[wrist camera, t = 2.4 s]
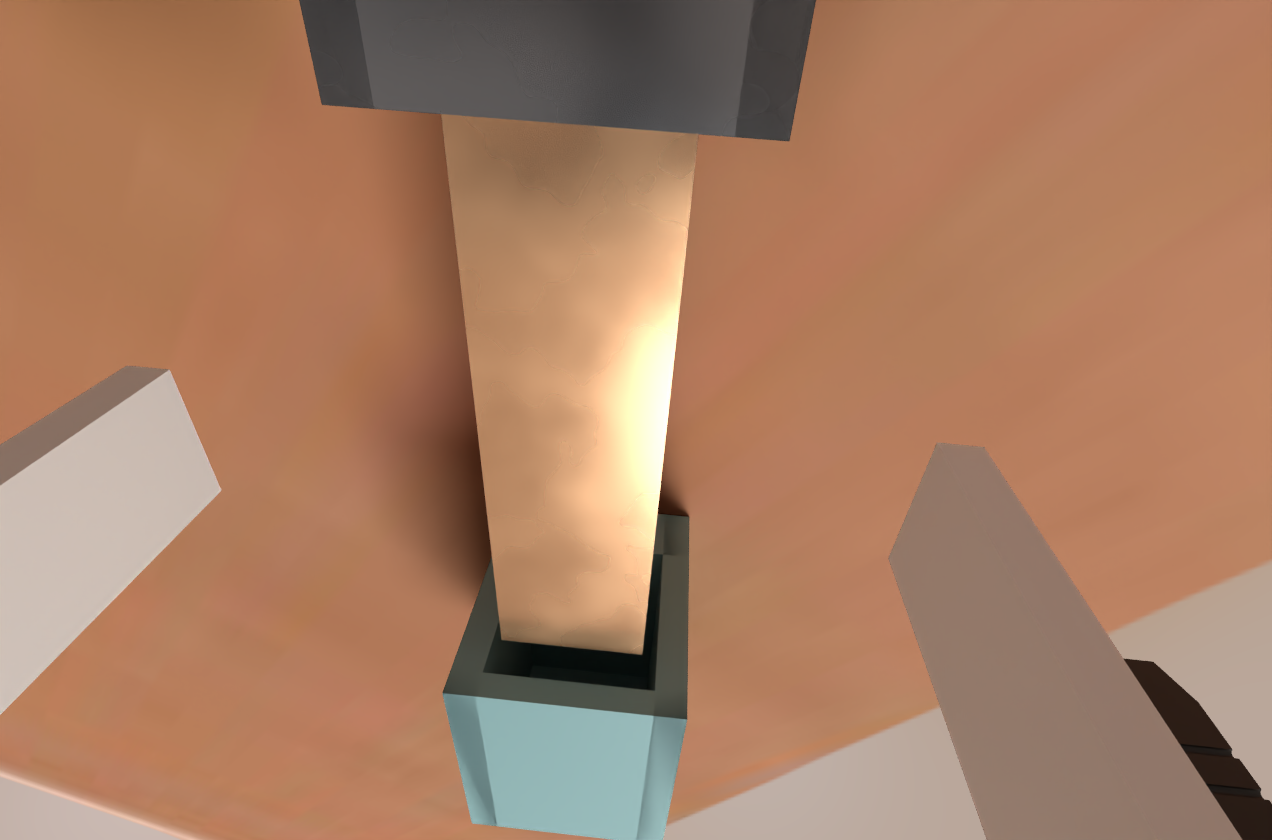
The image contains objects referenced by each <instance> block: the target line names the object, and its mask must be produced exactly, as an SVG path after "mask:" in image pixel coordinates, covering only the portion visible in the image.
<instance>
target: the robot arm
mask: <svg viewBox="0 0 1272 840" xmlns="http://www.w3.org/2000/svg"><path fill="white" fill-rule="evenodd" d="M220 491H221V488H220V486H219V484H218V481H217V479H216V477H215V474H214V472H213V470H212V467H211V465H210V463H209V460H208V458H207V456H206V454H205V451H204V449H203V447H202V444H201V442H200V440H199V437H198V435H197V433H196V430H195V428H194V426H193V423H192V421H191V419H190V416H189V414H188V412H187V409H186V407H185V405H184V402H183V400H182V398H181V395H180V393H179V391H178V388H177V386H176V384H175V381H174V379H173V377H172V374H171V372H170V370H168V369H157V368H147V367H136V366H125V367H124V368H122V369H121V370H119V371H117V372H116V373H114V374H113V375H111V376H109V377H108V378H106V379H105V380H103V381H101V382H100V383H98V384H97V385H95V386H93V387H92V388H90V389H89V390H87V391H85V392H84V393H82V394H81V395H79V396H77V397H76V398H74V399H73V400H71V401H69V402H68V403H66V404H65V405H63V406H61V407H60V408H58V409H57V410H55V411H53V412H52V413H50V414H49V415H47V416H45V417H44V418H42V419H41V420H39V421H37V422H36V423H34V424H33V425H31V426H29V427H28V428H26V429H25V430H23V431H21V432H20V433H18V434H17V435H15V436H13V437H12V438H10V439H9V440H7V441H5V442H4V443H2V444H1V445H0V714H1V713H2V712H3V711H4V710H5V709H6V708H7V707H8V706H9V705H10V704H11V703H12V702H13V701H14V700H15V699H16V698H17V697H18V696H19V695H20V694H21V693H22V692H23V691H24V690H25V689H26V688H27V687H28V686H29V685H30V684H31V683H32V682H33V681H34V680H35V679H36V678H37V677H38V676H39V675H40V674H41V673H42V672H43V671H44V670H45V669H46V668H47V667H48V666H49V665H50V664H51V663H52V662H53V661H54V660H55V659H56V658H57V657H58V656H59V655H60V654H61V653H62V652H63V651H64V650H65V649H66V648H67V647H68V646H69V645H70V644H71V643H72V641H73V640H74V639H75V638H76V637H77V636H78V635H79V634H80V633H81V632H82V631H83V630H84V629H85V628H86V627H87V626H88V625H89V624H90V623H91V622H92V621H93V620H94V619H95V618H96V617H97V616H98V615H99V614H100V613H101V612H102V611H103V610H104V609H105V608H106V607H107V606H108V605H109V604H110V603H111V602H112V601H113V600H114V599H115V598H116V597H117V596H118V595H119V594H120V593H121V592H122V591H123V590H124V589H125V588H126V587H127V586H128V585H129V584H130V583H131V582H132V581H133V580H134V579H135V578H136V577H137V576H138V575H139V574H140V573H141V572H142V571H143V570H144V569H145V567H146V566H147V565H148V564H149V563H150V562H151V561H152V560H153V559H154V558H155V557H156V556H157V555H158V554H159V553H160V552H161V551H162V550H163V549H164V548H165V547H166V546H167V545H168V544H169V543H170V542H171V541H172V540H173V539H174V538H175V537H176V536H177V535H178V534H179V533H180V532H181V531H182V530H183V529H184V528H185V527H186V526H187V525H188V524H189V523H190V522H191V521H192V520H193V519H194V518H195V517H196V516H197V515H198V514H199V513H200V512H201V511H202V510H203V509H204V508H205V507H206V506H207V505H208V504H209V503H210V502H211V501H212V500H213V499H214V498H215V497H216V496H217V495H218V493H219V492H220ZM888 559H889V562H890V565H891V568H892V570H893V573H894V576H895V579H896V582H897V585H898V588H899V590H900V593H901V596H902V599H903V602H904V605H905V608H906V610H907V613H908V616H909V619H910V622H911V625H912V628H913V630H914V633H915V636H916V639H917V642H918V645H919V648H920V650H921V653H922V656H923V659H924V662H925V665H926V668H927V670H928V673H929V676H930V679H931V682H932V685H933V688H934V690H935V693H936V696H937V699H938V702H939V705H940V708H941V710H942V713H943V716H944V719H945V722H946V725H947V727H948V730H949V733H950V736H951V739H952V742H953V745H954V747H955V750H956V753H957V756H958V759H959V762H960V764H961V767H962V770H963V773H964V776H965V779H966V781H967V785H968V787H969V790H970V793H971V796H972V799H973V802H974V805H975V807H976V810H977V813H978V816H979V819H980V822H981V825H982V827H983V830H984V833H985V836H986V839H987V840H1272V804H1271V802H1270V801H1269V800H1264V799H1263V798H1262V796H1261V793H1260V791H1261V788H1260V787H1259V786H1258V784H1257V783H1256V781H1255V780H1254V779H1253V777H1252V776H1251V775H1250V773H1249V772H1248V770H1247V769H1246V768H1245V766H1244V765H1243V764H1242V762H1241V761H1240V760H1239V759H1236V758H1234V757H1233V756H1232V754H1231V751H1232V748H1231V747H1230V746H1229V744H1228V743H1227V741H1226V740H1225V739H1224V738H1223V736H1222V734H1221V733H1220V732H1219V730H1218V729H1217V728H1216V726H1215V725H1214V723H1213V722H1212V721H1211V719H1210V718H1209V717H1208V715H1207V714H1206V712H1205V711H1204V710H1203V708H1202V707H1201V706H1200V704H1199V703H1198V702H1197V701H1196V700H1195V699H1194V698H1193V697H1192V696H1190V695H1189V694H1188V693H1187V692H1186V691H1185V690H1184V689H1183V688H1182V687H1181V686H1179V685H1178V684H1177V683H1176V682H1175V681H1174V680H1173V679H1172V678H1171V677H1169V676H1168V675H1167V674H1166V673H1165V672H1164V671H1163V670H1162V669H1161V668H1160V667H1158V666H1157V665H1156V664H1155V663H1154V662H1150V661H1139V660H1130V659H1123V658H1122V656H1121V654H1120V653H1119V651H1118V650H1117V649H1116V647H1115V645H1114V644H1113V642H1112V641H1111V640H1110V638H1109V636H1108V635H1107V633H1106V632H1105V630H1104V629H1103V627H1102V626H1101V624H1100V623H1099V621H1098V620H1097V618H1096V616H1095V615H1094V613H1093V612H1092V610H1091V609H1090V607H1089V606H1088V604H1087V603H1086V601H1085V600H1084V598H1083V597H1082V595H1081V594H1080V592H1079V591H1078V589H1077V588H1076V586H1075V585H1074V583H1073V582H1072V580H1071V578H1070V577H1069V575H1068V574H1067V572H1066V571H1065V569H1064V568H1063V566H1062V565H1061V563H1060V562H1059V560H1058V559H1057V557H1056V556H1055V554H1054V553H1053V551H1052V550H1051V548H1050V547H1049V545H1048V544H1047V542H1046V541H1045V539H1044V537H1043V536H1042V534H1041V533H1040V531H1039V530H1038V528H1037V527H1036V525H1035V524H1034V522H1033V521H1032V519H1031V518H1030V516H1029V515H1028V513H1027V512H1026V510H1025V509H1024V507H1023V506H1022V504H1021V503H1020V501H1019V499H1018V498H1017V496H1016V495H1015V493H1014V492H1013V490H1012V489H1011V487H1010V486H1009V484H1008V483H1007V481H1006V480H1005V478H1004V477H1003V475H1002V474H1001V472H1000V471H999V469H998V468H997V466H996V465H995V463H994V461H993V460H992V458H991V457H990V455H989V454H988V452H987V451H986V449H985V448H984V447H978V446H968V445H957V444H947V443H937V444H936V446H935V449H934V451H933V454H932V456H931V458H930V461H929V463H928V465H927V468H926V470H925V473H924V475H923V477H922V480H921V482H920V484H919V487H918V489H917V491H916V494H915V496H914V499H913V501H912V503H911V506H910V508H909V510H908V513H907V515H906V518H905V520H904V522H903V525H902V527H901V529H900V532H899V534H898V537H897V539H896V541H895V544H894V546H893V548H892V551H891V553H890V556H889V558H888Z"/></svg>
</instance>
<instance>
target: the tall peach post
mask: <svg viewBox="0 0 1272 840" xmlns="http://www.w3.org/2000/svg"><path fill="white" fill-rule="evenodd" d="M441 119H442V127H443V136H444V145H445V153H446V162H447V171H448V179H449V188H450V197H451V205H452V214H453V223H454V231H455V240H456V249H457V258H458V266H459V275H460V284H461V292H462V301H463V310H464V318H465V327H466V336H467V344H468V353H469V362H470V370H471V379H472V388H473V396H474V405H475V414H476V422H477V431H478V440H479V449H480V457H481V466H482V475H483V483H484V492H485V501H486V509H487V518H488V527H489V535H490V544H491V553H492V561H493V570H494V579H495V587H496V596H497V605H498V613H499V622H500V631H501V640H507V641H517V642H526V643H536V644H545V645H554V646H564V647H573V648H583V649H592V650H602V651H611V652H621V653H630V654H640V655H642V652H643V643H644V634H645V625H646V615H647V606H648V597H649V588H650V578H651V569H652V560H653V550H654V541H655V532H656V523H657V513H658V504H659V495H660V486H661V476H662V467H663V458H664V448H665V439H666V430H667V421H668V411H669V402H670V393H671V384H672V374H673V365H674V356H675V347H676V337H677V328H678V319H679V309H680V300H681V291H682V282H683V272H684V263H685V254H686V245H687V235H688V226H689V217H690V207H691V198H692V189H693V180H694V170H695V161H696V152H697V143H698V134H690V133H677V132H664V131H651V130H639V129H626V128H613V127H600V126H587V125H575V124H562V123H549V122H536V121H524V120H511V119H498V118H485V117H472V116H460V115H447V114H441Z"/></svg>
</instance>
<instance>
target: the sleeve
mask: <svg viewBox="0 0 1272 840" xmlns="http://www.w3.org/2000/svg"><path fill="white" fill-rule="evenodd" d="M299 1H300V6H301V10H302V15H303V20H304V24H305V29H306V33H307V38H308V43H309V47H310V52H311V57H312V61H313V66H314V70H315V75H316V80H317V84H318V89H319V94H320V98H321V103H322V105H332V106H345V107H358V108H370V109H383V110H396V111H409V112H421V113H434V114H447V115H460V116H472V117H485V118H498V119H511V120H524V121H536V122H549V123H562V124H575V125H587V126H600V127H613V128H626V129H639V130H651V131H664V132H677V133H690V134H702V135H715V136H728V137H741V138H753V139H766V140H779V141H789V140H790V135H791V130H792V124H793V119H794V114H795V108H796V103H797V98H798V93H799V87H800V82H801V77H802V71H803V66H804V61H805V55H806V50H807V45H808V40H809V34H810V29H811V24H812V18H813V13H814V8H815V2H816V0H299Z"/></svg>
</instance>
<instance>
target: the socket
mask: <svg viewBox="0 0 1272 840" xmlns="http://www.w3.org/2000/svg"><path fill="white" fill-rule="evenodd" d="M688 589H689V517H685V516H675V515H665V514H657V523H656V532H655V541H654V550H653V560H652V569H651V578H650V588H649V597H648V606H647V615H646V625H645V634H644V643H643V652H642V655H640V654H630V653H621V652H611V651H602V650H592V649H583V648H573V647H564V646H554V645H545V644H536V643H526V642H517V641H507V640H501V631H500V622H499V613H498V605H497V596H496V587H495V579H494V570H493V561H492V557H491V560H490V563H489V566H488V568H487V571H486V574H485V577H484V579H483V582H482V585H481V588H480V591H479V593H478V596H477V599H476V602H475V604H474V607H473V610H472V613H471V615H470V618H469V621H468V624H467V627H466V629H465V632H464V635H463V638H462V640H461V643H460V646H459V649H458V651H457V654H456V657H455V660H454V663H453V665H452V668H451V671H450V674H449V676H448V679H447V682H446V685H445V687H444V690H443V698H444V702H445V706H446V711H447V715H448V720H449V724H450V729H451V733H452V737H453V742H454V746H455V751H456V755H457V759H458V764H459V768H460V773H461V777H462V781H463V786H464V790H465V795H466V799H467V804H468V808H469V812H470V817H471V821H472V823H474V824H483V825H492V826H500V827H509V828H518V829H526V830H535V831H544V832H552V833H561V834H570V835H578V836H587V837H596V838H604V839H613V840H663V837H664V832H665V827H666V822H667V817H668V812H669V807H670V802H671V797H672V792H673V787H674V782H675V777H676V772H677V767H678V762H679V757H680V753H681V748H682V743H683V738H684V733H685V728H686V723H687V682H688Z"/></svg>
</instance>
